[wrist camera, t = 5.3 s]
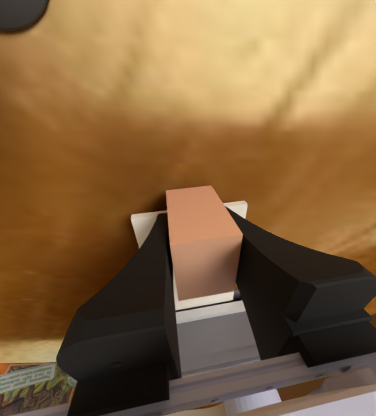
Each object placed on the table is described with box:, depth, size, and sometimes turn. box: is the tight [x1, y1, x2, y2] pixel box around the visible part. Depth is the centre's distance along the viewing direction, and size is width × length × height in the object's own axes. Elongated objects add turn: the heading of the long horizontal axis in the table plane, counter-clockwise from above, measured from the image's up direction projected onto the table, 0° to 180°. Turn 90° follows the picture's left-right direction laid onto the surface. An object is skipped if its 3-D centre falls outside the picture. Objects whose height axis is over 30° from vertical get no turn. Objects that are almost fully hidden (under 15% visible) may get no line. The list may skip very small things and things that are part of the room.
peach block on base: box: [131, 185, 247, 310], centre depth 12 cm, size 14×8×5 cm, turn 3°
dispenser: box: [175, 289, 261, 378], centre depth 18 cm, size 9×14×6 cm, turn 93°
